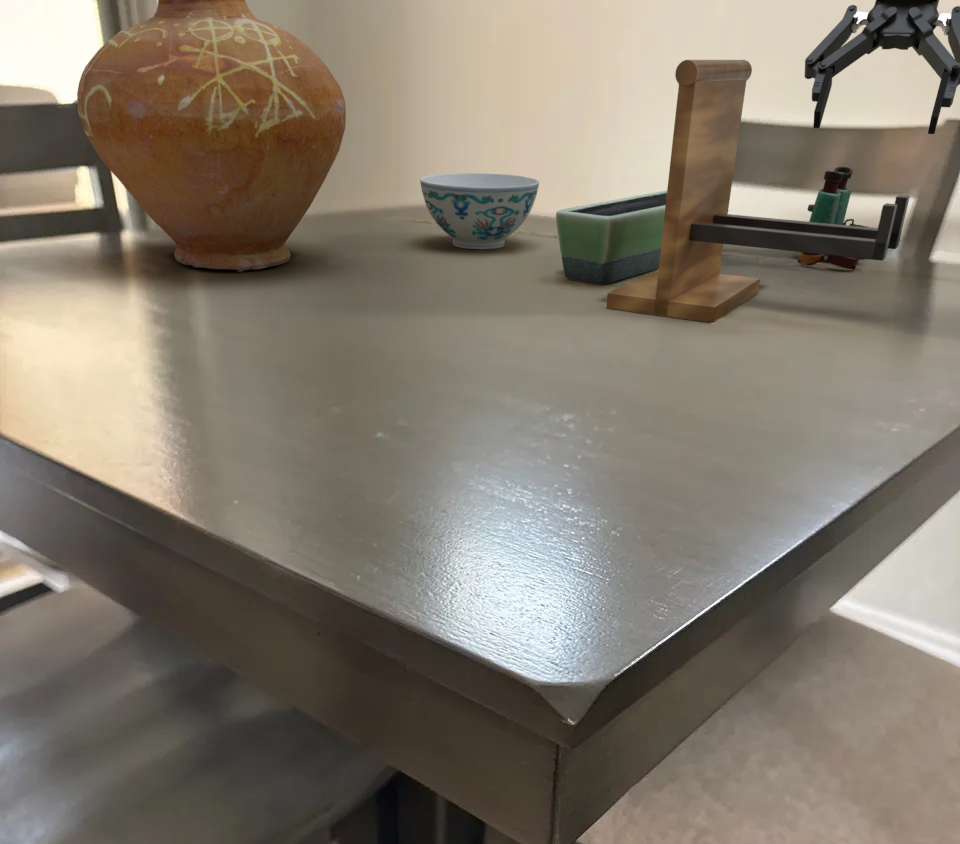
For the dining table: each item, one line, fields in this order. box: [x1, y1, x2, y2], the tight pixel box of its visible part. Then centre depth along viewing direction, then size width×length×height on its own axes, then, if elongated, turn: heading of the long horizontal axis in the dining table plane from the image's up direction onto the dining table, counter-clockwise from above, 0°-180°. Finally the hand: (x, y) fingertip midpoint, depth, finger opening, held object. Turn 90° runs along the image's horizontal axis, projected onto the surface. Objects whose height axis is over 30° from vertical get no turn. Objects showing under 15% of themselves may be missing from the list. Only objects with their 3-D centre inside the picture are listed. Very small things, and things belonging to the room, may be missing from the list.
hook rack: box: [606, 59, 911, 324], centre depth 93 cm, size 24×17×22 cm
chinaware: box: [419, 172, 540, 250], centre depth 125 cm, size 15×15×8 cm
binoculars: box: [797, 166, 867, 271], centre depth 117 cm, size 9×11×10 cm
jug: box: [76, 0, 347, 272], centre depth 106 cm, size 28×28×30 cm
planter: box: [555, 190, 667, 285], centre depth 114 cm, size 28×7×7 cm, turn 142°
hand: (873, 123), depth 120 cm, fingers open, 13 cm apart
